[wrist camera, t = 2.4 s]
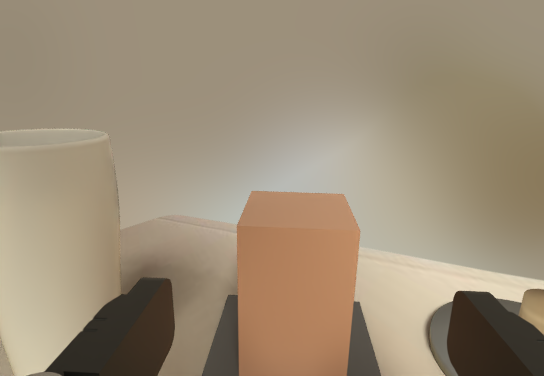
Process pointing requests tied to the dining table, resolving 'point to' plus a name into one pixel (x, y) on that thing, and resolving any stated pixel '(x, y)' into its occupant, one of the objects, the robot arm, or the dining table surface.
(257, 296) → the orange brown block
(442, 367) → the plate
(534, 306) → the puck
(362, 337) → the mat
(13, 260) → the drinking glass
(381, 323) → the dining table surface
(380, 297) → the dining table surface
